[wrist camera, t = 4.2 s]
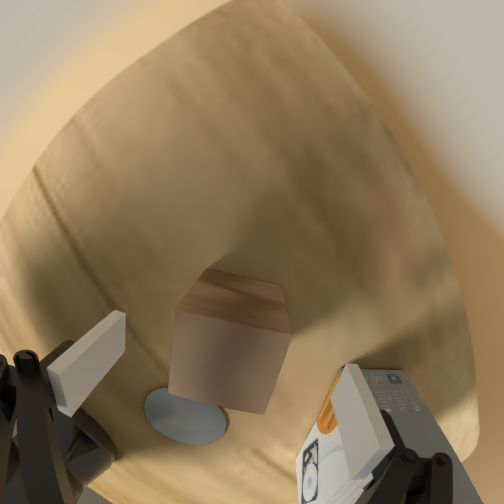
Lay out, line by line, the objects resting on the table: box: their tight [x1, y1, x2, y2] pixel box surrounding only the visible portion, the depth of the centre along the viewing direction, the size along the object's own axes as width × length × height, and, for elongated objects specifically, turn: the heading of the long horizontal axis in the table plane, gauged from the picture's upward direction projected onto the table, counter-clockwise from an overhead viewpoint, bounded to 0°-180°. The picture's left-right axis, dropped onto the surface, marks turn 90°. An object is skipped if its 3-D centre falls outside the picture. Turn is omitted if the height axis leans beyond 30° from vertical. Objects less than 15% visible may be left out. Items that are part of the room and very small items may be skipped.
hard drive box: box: [296, 368, 483, 504], centre depth 14 cm, size 16×8×20 cm, turn 170°
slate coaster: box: [144, 387, 226, 445], centre depth 25 cm, size 9×9×1 cm
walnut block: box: [168, 269, 292, 415], centre depth 18 cm, size 6×6×8 cm
